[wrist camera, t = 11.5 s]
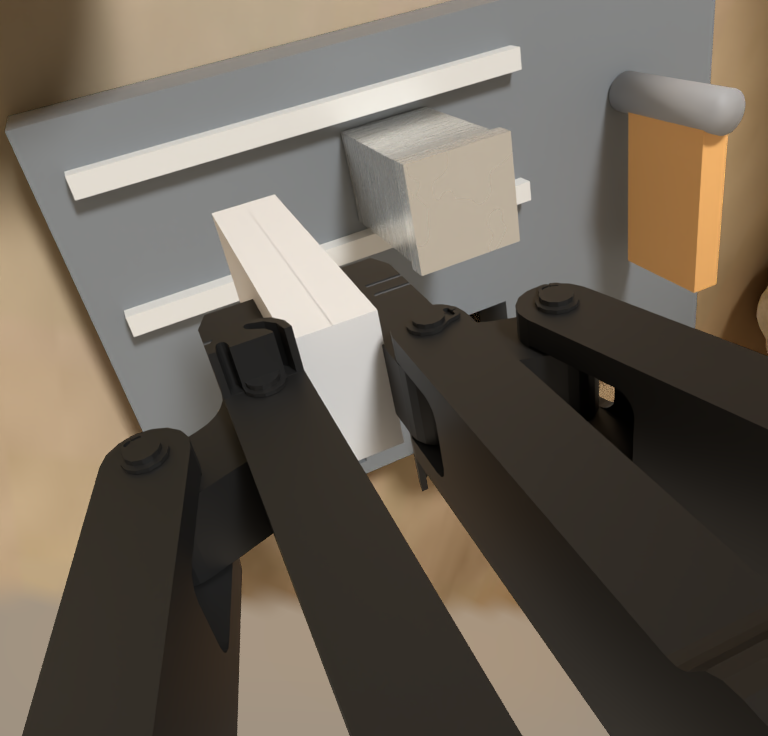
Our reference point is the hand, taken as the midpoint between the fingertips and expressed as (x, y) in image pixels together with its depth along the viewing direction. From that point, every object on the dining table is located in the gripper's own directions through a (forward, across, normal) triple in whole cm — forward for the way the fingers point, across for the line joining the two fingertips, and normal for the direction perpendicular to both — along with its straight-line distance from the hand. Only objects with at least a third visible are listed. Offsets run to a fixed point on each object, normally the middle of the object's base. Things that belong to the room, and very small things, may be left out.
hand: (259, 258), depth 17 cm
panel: (+9, +7, -5) cm, 12 cm away
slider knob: (+6, +6, -1) cm, 9 cm away
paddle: (+7, +15, -4) cm, 17 cm away
